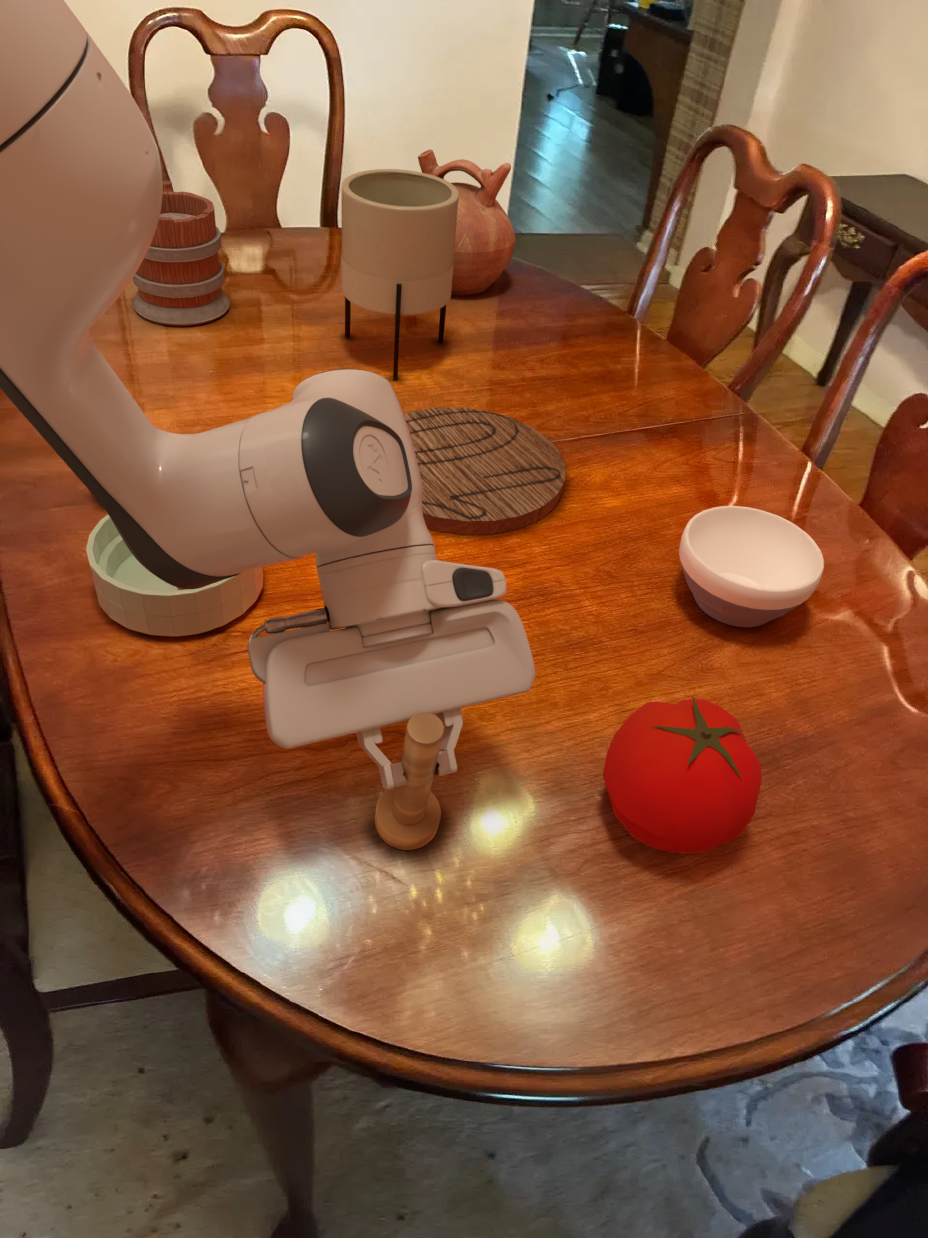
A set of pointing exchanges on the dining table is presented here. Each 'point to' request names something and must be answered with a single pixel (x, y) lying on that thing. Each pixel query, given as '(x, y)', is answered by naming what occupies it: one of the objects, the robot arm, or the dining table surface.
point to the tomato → (682, 776)
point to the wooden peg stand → (413, 788)
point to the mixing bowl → (161, 591)
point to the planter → (398, 245)
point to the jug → (476, 225)
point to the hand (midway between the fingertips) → (420, 780)
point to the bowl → (748, 564)
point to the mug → (182, 264)
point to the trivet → (483, 470)
